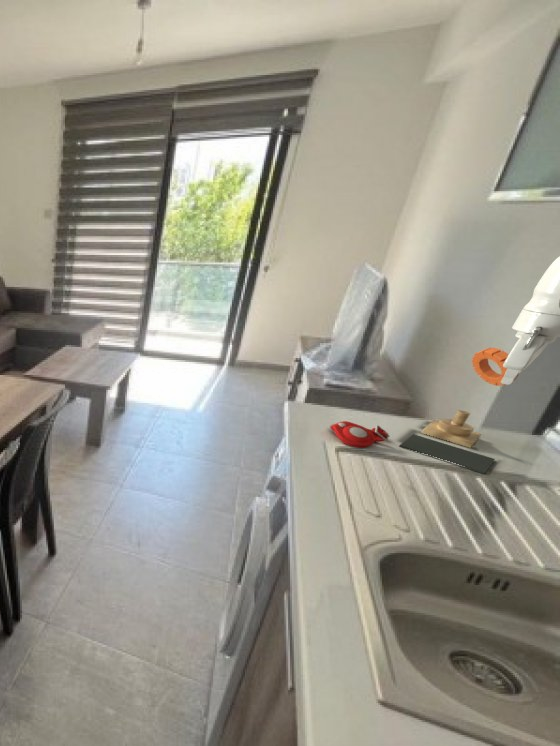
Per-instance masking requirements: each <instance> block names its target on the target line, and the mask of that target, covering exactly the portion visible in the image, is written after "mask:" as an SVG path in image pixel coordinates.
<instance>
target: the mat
mask: <svg viewBox="0 0 560 746" xmlns="http://www.w3.org/2000/svg"><path fill="white" fill-rule="evenodd" d="M398 447H399V448H402V449H405V448H406V450H408V449H410V450H409V451H411V450H413V451H412V452H414V451H417V452H416V453H418V452H420V453H419V454H421V453H424V454H428V455H431V456H434V457H437V458H440V459H443V460H447V461H450V462H453V463H456V464H459V465H462V466H465V467H467V468H470V469H472V470H471V471H473V470H475V471H474V472H476V471H477V472H476V473H480V474H482V475H485V474H486V472H487V471H488V470H489V468H490V466H492V464H493V463H494V461H496V459H495V458H493V457H489V456H486V455H483V454H481V453H477V452H474V451H471V450H467V449H464V448H460V447H457V446H454V445H451V444H447V443H444V442H441V441H437V440H434V439H431V438H427V437H424V436H421V435H418V434H414V433H413V434H410V436H409V437H407V438H406V439H405V440H404V441H403V442H402V443H400V444H399V445H398ZM424 454H423V455H424ZM467 468H466V469H467ZM470 469H469V470H470Z"/></svg>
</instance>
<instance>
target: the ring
mask: <svg viewBox="0 0 560 746" xmlns="http://www.w3.org/2000/svg"><path fill="white" fill-rule="evenodd" d="M509 354H510V353H508V352H506V351H504V350H502V349H500V348H497V347H487V348H484V349H482V350H480V351H478V352H475V353H474V355H473V357H472V358H471V359H472V360H471V363H472V367H473V370H474V371H475V373H476V374H477V376H479V377H480V378H481V380H483V381H484V382H485V383H488V384H490V385H492V386H496V387H497V386H498V387H501V386H505V385H506V384H502V383H501V380H502V379H503V377H504V375H505V372H506V370H507V368H504V367H503V364H504V362H505V360H506V359H507V357H508V355H509ZM489 360H490V361H491V360H492V362H494V363H495V364H496V365H497V366H498V368H499V369H500V372H501V373H498V372H496V371H495V370H493V369H492V367H491V365H490V364H489ZM518 374H519V373H518ZM518 374H517V376H516V377H515V379H514V380H513V382H514V381H516V380H517V378H518V377H519V375H520V374H519V375H518Z"/></svg>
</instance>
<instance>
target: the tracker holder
mask: <svg viewBox="0 0 560 746" xmlns="http://www.w3.org/2000/svg"><path fill="white" fill-rule="evenodd" d="M330 429H331V430H332V431H333V432H334V434H335V435H336V437H337V439H338V440H340V441H341V442H342V443H343V444H345V445H347V446H350V447H353V448H357V449H362V448H363V449H364V448H365V449H366V448H368V447H370V446H372V445H373V444H374V443H375V442H376V443H378V442H379V443H380V442H388V441H389V438H390V437H391V436H390V434H389V433H388V432H387V431H386V429H385V430H384V429H383V428H382V427H381V426H380V425H378V424H376V425H375V427H373V428H372V429H370V428H367V427H365V426H363V425H359V424H357V423H354V422H351V421H346V420H343V421H339V422H336V423H334V424H331V425H330Z"/></svg>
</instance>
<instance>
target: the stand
mask: <svg viewBox="0 0 560 746" xmlns="http://www.w3.org/2000/svg"><path fill="white" fill-rule="evenodd" d="M470 415H471V413H470V412H469V411H466V410H460V409H459V410H457V412H456V413H455V415H454V416H453V418H452V419H451V418H441V419H440V420H439V421H438V420H435V419H434V420H432V421H431V422H430V423H428V424H427V425H426V426H425V427H424V428H423V429H422V431H421V434H423V435H426V434H427V435H426V436H429V435H430V437H433V436H434V437H433V438H436V437H437V439H439V438H440V439H439V440H442V441H446V440H447V442H449V441H450V442H449V443H453V444H456V445H460V446H463V447H467V448H470V449H471V448H472V447H473V446H474V445H475V444H476V442H477V441H478V440H479V439H480V438H481V436H482V433H481V432H477V431H474V430H475V427H474V426H472V425H470V424H469V423H466V422H467V420H468V418H469V416H470Z"/></svg>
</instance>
